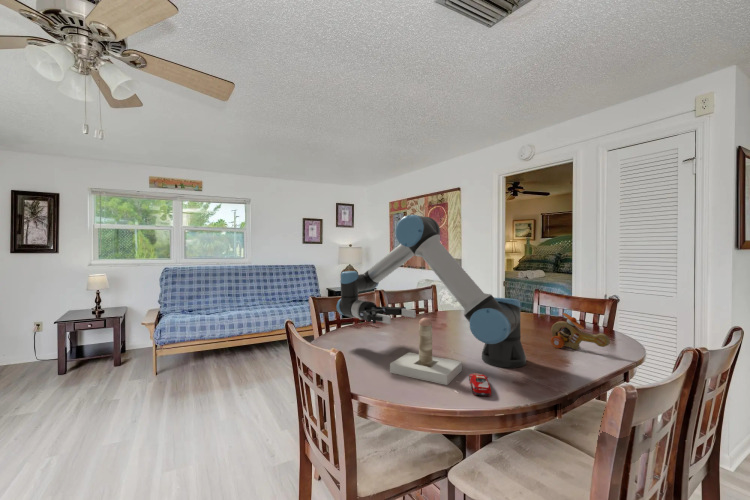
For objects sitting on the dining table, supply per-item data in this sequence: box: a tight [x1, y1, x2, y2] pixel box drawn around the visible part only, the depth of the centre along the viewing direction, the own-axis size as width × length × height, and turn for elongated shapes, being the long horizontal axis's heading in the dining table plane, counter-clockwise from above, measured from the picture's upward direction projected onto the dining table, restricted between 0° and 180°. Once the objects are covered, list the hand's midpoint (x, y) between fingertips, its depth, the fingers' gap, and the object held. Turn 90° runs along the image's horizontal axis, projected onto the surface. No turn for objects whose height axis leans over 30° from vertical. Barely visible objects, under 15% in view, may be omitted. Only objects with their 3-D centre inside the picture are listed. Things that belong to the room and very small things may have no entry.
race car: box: [468, 372, 492, 397], centre depth 101 cm, size 13×5×4 cm, turn 169°
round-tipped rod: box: [418, 317, 433, 367], centre depth 114 cm, size 4×4×18 cm
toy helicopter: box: [550, 312, 611, 351], centre depth 134 cm, size 8×21×14 cm, turn 38°
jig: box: [389, 351, 463, 386], centre depth 114 cm, size 20×14×3 cm
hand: (403, 316), depth 124 cm, fingers open, 13 cm apart
